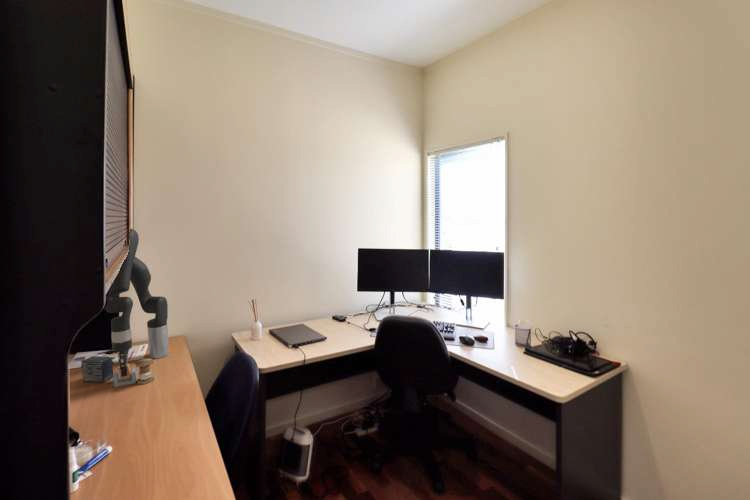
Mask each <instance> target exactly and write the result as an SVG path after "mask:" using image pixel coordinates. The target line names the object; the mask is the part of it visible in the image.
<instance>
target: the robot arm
mask: <svg viewBox="0 0 750 500" xmlns="http://www.w3.org/2000/svg"><path fill="white" fill-rule="evenodd" d="M129 229H130V232H129V239H130V246H129V252H128V255H127V257H126V259H125V260H124V262H123V264H122V266H121V268H120V271H119V274H118V276H117V278H116V280H115V282H114V283H113V285H112V284H111V285H112V287H111V286H110V289H109V292H108V295H107V296H106V299H107V305H106V308H105V307H104V310H105V311H106V312H107V313H109V314H112V313H113V314H115V313H122V314H121V315H119V316H115V317H113V318H112V319H111V320H110V326H111V327H110V328H111V329H110V330H111V348H112V349H111V350H112V351H113V352H117V359H118V366H120V369H121V376H122V377H123V376H127V364H128V363H129V350H130V349H132V347H133V339H132V338H133V337H132V331H131V313H132V310H133V307H134V301H133V299H132V297H130V296H120V294H122V293H127V292H128V291H129V290H130V286H131V284H132V287H133V289H134V292H135V293H136V296H137V298H138V301H139V303H140V306H141V307H140V308H141V309H142V311H143V312H144V313H146V314H155V315H154V318H151V319H149V320H147V324H146V326H147V339H148V340H147V341H148V351H149V358H150V359H162V358H165V357H166V356H167V357H168V355H169V354H170V348H169V347H170V346H169V334H168V316H169V315H168V314H169V313H168V312H169V311H168V309H169V308H168V307H169V306H168V300H167V298H166V297H165V296H153V295H151V293H150V290H149V286H150V284H151V280H152V275H151V273H150V269H149V268H148V266H147V265H146V263H145V262H143V261H142V260H141V259H139V258H138V257H136V254H137V250H138V246H139V240H140V239H139V238H140V237H139V234H138V232H137V231H136V230H135V229H133V228H129ZM123 365H125V366H123Z"/></svg>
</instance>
